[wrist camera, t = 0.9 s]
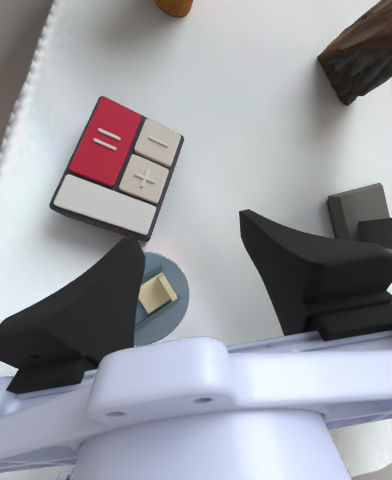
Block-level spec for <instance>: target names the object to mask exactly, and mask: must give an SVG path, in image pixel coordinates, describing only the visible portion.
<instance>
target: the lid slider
mask: <svg viewBox="0 0 392 480" xmlns="http://www.w3.org/2000/svg"><path fill="white" fill-rule="evenodd" d="M138 298H139V300H140V301H141V303H142V304H143V306H144V308H145V309H146V311H147V312H148V314H149V313H150V312H152V311H153V310H155V309H156V308H158V307H159V306H161V305H162V304H164V303H165V302H167V301H168V300H169V299H171V300H172V301H174V300H176V299H177V296H176V294H175V293H174V291H173V289H172V288H171V286H170V284H169V283H168V281H167V279H166V278H165V276H164V274H163V273H162V272H161V273H160V274H158V275H156V276H155V277H153V278H152V279H150V280H148V281H147V282H145V283H144V284H142V285H141V288H140V293H139V297H138Z"/></svg>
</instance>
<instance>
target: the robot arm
mask: <svg viewBox="0 0 392 480" xmlns="http://www.w3.org/2000/svg"><path fill="white" fill-rule="evenodd" d="M239 216H240V231H241V238H242V241H243V244H244V246H245V248H246V250H247V252H248V254H249V256H250V258H251V259H252V261H253V263H254V265H255V266H256V268H257V270H258V272H259V274H260V276H261V278H262V280H263V282H264V284H265V287H266V289H267V292H268V294H269V296H270V299H271V301H272V304H273V306H274V309H275V312H276V314H277V317H278V320H279V322H280V325H281V328H282V331H283V333H284V336H283V337H277V338H272V339H266V340H260V341H255V342H249V343H243V344H237V345H232V346H225V345H224V344H223V343H222V342H221V341H219V340H218V339H214V338H210V337H189V338H184V339H178V340H173V341H167V342H162V343H156V344H151V345H145V346H140V347H134V331H135V319H136V310H137V302H138V297H139V293H140V288H141V284H142V280H143V275H144V270H145V259H146V256H145V255H144V253H143V251H142V249H141V247H140V245H139V243H138V241H137V239H136V237H135V235H131V236H126V237H125V238H123V239H122V240H121V241H120V242H119V243H118V244H116V245H115V246H114V247H113V248H112V249H111V250H110V251H109V252H108V253H107V254H106V255H105V256H104V257H102V258H101V259H100V260H99V261H98V262H97V263H96V264H95V265H93V266H92V267H91V268H90V269H88V270H87V271H86V272H85V273H83V274H82V275H81V276H79V277H78V278H76V279H75V280H74V281H72V282H71V283H69V284H67V285H66V286H64V287H63V288H61V289H60V290H58V291H57V292H55V293H53V294H52V295H50V296H48V297H46V298H45V299H43V300H41V301H39V302H37V303H36V304H34V305H32V306H30V307H28V308H26V309H24V310H22V311H20V312H18V313H16V314H14V315H12V316H10V317H8V318H6V319H5V320H4V321H3V322H2V323H1V324H0V361H2V362H4V363H6V364H8V365H11V366H13V367H15V368H18V369H19V370H18V371H17V373H16V375H15V376H14V377H10V376H5V377H0V473H2V472H10V471H18V470H26V469H35V468H44V467H53V466H63V465H72V464H75V465H74V468H73V471H72V474H71V476H70V478H69V473H70V472H63V473H61V474H60V475H59V477H58V479H57V480H351V478H350V476H349V473H348V471H347V469H346V467H345V465H344V463H343V461H342V459H341V456H340V454H339V452H338V450H337V448H336V446H335V444H334V442H333V439H332V437H331V435H330V433H329V431H328V430H329V429H335V428H340V427H346V426H351V425H357V424H363V423H368V422H374V421H380V420H385V419H391V418H392V302H391V301H392V295H391V294H390V293H389V292H388V291H386V290H387V288H388V287H389V286H390V284H391V283H392V253H390V252H389V251H387V250H386V249H384V248H382V247H381V246H379V245H378V244H376V243H366V242H356V241H347V240H340V239H333V238H327V237H322V236H317V235H313V234H309V233H305V232H301V231H298V230H295V229H292V228H289V227H286V226H283V225H281V224H278V223H276V222H274V221H271V220H269V219H267V218H265V217H263V216H261V215H259V214H257V213H255V212H253V211H251V210H249V209H248V210H243V211H239Z"/></svg>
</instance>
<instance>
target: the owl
mask: <svg viewBox="0 0 392 480" xmlns="http://www.w3.org/2000/svg"><path fill="white" fill-rule="evenodd" d="M317 58H318V60H319V61H320V63H321V65H322V67H323V68H324V70H325V72H326V75H327V76H328V78H329V79H330V81H331V84H332V86H333V88H334V89H335V90H336V92H337V95H338V97H339V99H340V101H341V102H343V104H345V105H347V106H348V105H349V104H350V103H352V102H353V101H354V100H356V98H357V97H358V96H364V95H365V94H367V93H368V92H370V91H371V90H373V89H375V88H376V87H378V86H380V85H381V84H383V83H384V82H386V81H387V80H389V79H390V78H391V77H392V0H381V1H380V2H378V3H377V4H376V5H375V6H374V7H372V8H371V9H370V10H368V11H367V12H366V13H365V14H364V15H362V16H361V17H360V18H359V19H358V20H357V21H355V22H354V23H353V24H352V25H351V26H349V27H348V28H346V29H345V30H344V31H343V32H342V33H341V34H340V35H339V36H338V37H337V38H336V39H335V40H333V41H332V42H331V43H330V44H329V45H328V46H327V48H326V49H325V50H324V51H323V52H322V53H321V54H320V55H319V56H318V57H317Z"/></svg>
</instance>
